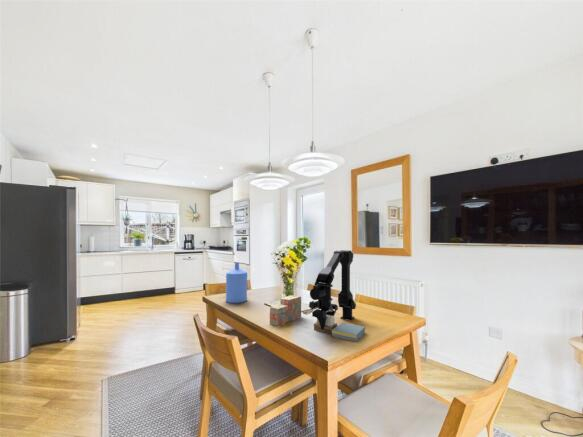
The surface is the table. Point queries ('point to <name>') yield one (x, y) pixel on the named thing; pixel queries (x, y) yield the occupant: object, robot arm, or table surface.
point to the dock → (348, 331)
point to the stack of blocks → (286, 310)
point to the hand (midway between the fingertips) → (325, 327)
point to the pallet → (325, 328)
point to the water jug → (236, 285)
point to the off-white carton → (329, 320)
